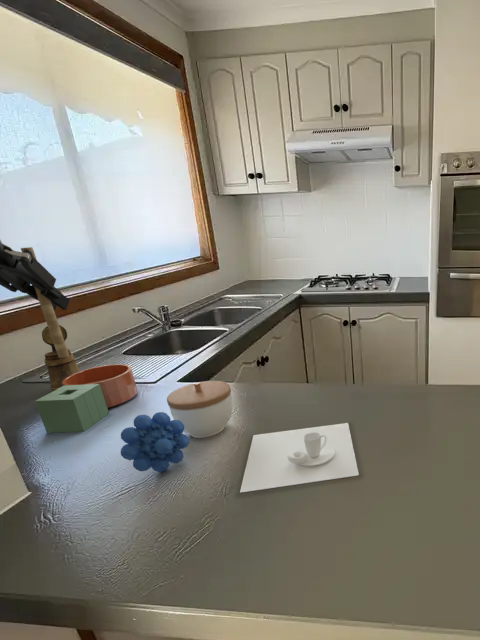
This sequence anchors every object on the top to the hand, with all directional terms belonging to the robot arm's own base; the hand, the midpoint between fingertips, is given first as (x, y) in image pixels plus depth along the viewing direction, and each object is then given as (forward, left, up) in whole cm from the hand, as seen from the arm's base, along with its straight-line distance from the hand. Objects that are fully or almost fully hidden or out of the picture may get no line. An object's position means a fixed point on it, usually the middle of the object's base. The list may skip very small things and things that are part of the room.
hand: (60, 304), depth 96 cm
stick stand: (0, -6, -27) cm, 28 cm away
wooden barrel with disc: (-21, +19, -27) cm, 39 cm away
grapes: (+33, -28, -27) cm, 51 cm away
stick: (0, -4, -11) cm, 12 cm away
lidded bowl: (+34, -12, -27) cm, 45 cm away
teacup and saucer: (+57, -23, -27) cm, 67 cm away
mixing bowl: (-2, +7, -27) cm, 28 cm away
